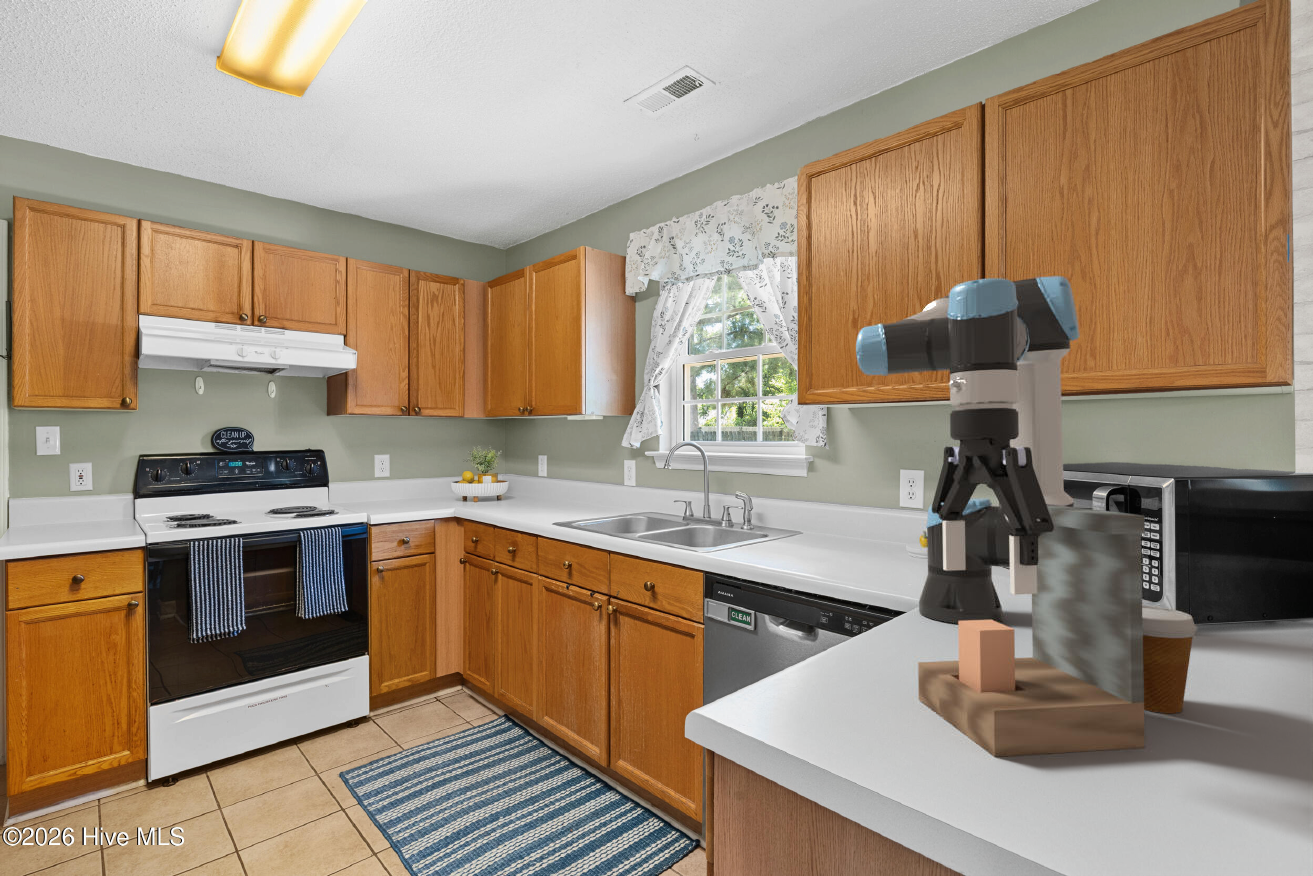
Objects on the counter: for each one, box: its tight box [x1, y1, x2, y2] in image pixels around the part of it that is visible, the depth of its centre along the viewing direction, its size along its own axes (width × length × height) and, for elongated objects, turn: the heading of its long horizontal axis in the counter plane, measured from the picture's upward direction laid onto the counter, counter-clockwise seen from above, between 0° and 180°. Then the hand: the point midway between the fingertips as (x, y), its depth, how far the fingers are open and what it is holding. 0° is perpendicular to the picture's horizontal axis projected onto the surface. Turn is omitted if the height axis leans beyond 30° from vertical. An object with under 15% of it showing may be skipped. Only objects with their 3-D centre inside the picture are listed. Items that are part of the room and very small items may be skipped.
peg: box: [958, 620, 1016, 693], centre depth 79 cm, size 4×4×12 cm
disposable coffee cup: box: [1142, 604, 1198, 714], centre depth 85 cm, size 10×10×12 cm
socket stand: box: [917, 504, 1146, 758], centre depth 79 cm, size 17×18×26 cm
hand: (986, 581), depth 79 cm, fingers open, 13 cm apart
